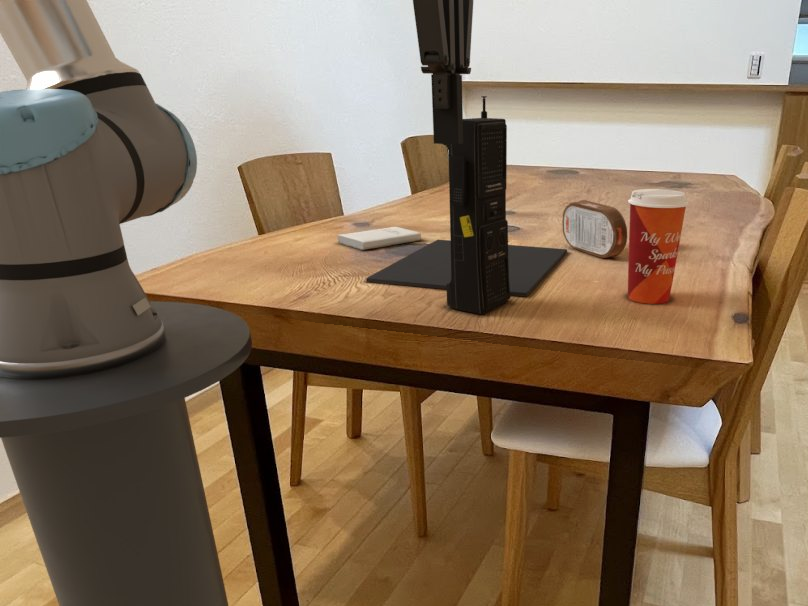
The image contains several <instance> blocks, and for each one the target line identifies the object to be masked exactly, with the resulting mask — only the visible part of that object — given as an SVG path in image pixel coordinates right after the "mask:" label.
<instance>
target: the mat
mask: <svg viewBox="0 0 808 606" xmlns="http://www.w3.org/2000/svg"><path fill="white" fill-rule="evenodd" d="M567 253H568V249H567V248H555V247H541V246H529V245H515V244H508V263H509V286H510V297H511V296H512V297H522V298H527V297H528V296H529V295H530V294H531V293H532V292H533V291H534V290H535V289H536V287H537V286H538V285H539V284H540V283H542V281H543V280H544V278H545V277H546V276H547V275H548V274H549V273H550V272H551V271H552V270H553V269H554V268H555V266H556V265H557V264H558V263H560V261H561V260H562V259H563V258H564V257H565V256H566V255H567ZM365 280H366V283H372V284H373V283H374V284H385V285H395V286H403V287H404V286H405V287H415V288H416V287H417V288H427V289H438V290H446V291H447V285H446V284H448V283H450V281H451V239H450V240H449V239H436V240H434V241H432V242H430V243H429V244H426V245H425V246H423V247H421V248H419V249H417V250H416V251H414V252H412V253H410V254H408V255H407V256H405V257H403V258H401V259H399V260H397V261H395V262H394V263H392V264H389V265H388V266H386V267H384V268H382V269H381V270H379V271H377V272H375V273H373V274H371V275H369V276H368V277H366V278H365Z"/></svg>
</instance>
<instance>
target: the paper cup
mask: <svg viewBox="0 0 808 606" xmlns="http://www.w3.org/2000/svg"><path fill="white" fill-rule="evenodd" d="M630 195H631V196H630V198H629V199H628V201H627V203H629V230H628V231H629V234H628V261H627V263H628V265H627V266H628V268H627V298H628V299H629V300H630V301H633V302H636V303H639V304H640V303H641V304H648V305H658V304H664V303H667V302H668V301H669V300H670V296H671V293H672V286H673V282H674V277H675V270H676V264H677V258H678V253H679V248H680V242H681V236H682V231H683V226H684V219H685V214H686V209H687V207H688V206H689V205H690V204H689V201H688V200H687V196H686V193H685V192H684V191H680V190H673V189H665V188H663V189H662V188H640V189H635V190H632V192H631V194H630Z"/></svg>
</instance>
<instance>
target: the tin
mask: <svg viewBox="0 0 808 606" xmlns="http://www.w3.org/2000/svg"><path fill="white" fill-rule="evenodd" d="M561 222H562V234H563V237H564V238H565V241H566V242H567V244H568V245H569V247H571V248H572V249H574V250H576V251H579V252H582V253H586V254H588V255H591V256H594V257H597V258H601V259H607V258H611V257H612V258H614V257H618V256H620V255H621V254H622V253H623V251H624V250H625V248H626V246H627V242H628V227H627V224H626V220H625V218H624V216H623V215H622V213H621V212H620V211H619V210H618V209H617V208H615V207H614V206H611V205H607V204H603V203H599V202H594V201H591V200H588V199H581V200H578V201H574V202H570V203H568V204H567V205H566V206H565V208H564V209H563V212H562V221H561Z"/></svg>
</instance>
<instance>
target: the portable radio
mask: <svg viewBox="0 0 808 606" xmlns="http://www.w3.org/2000/svg"><path fill="white" fill-rule="evenodd" d="M487 97H488V96H487V95H485V96H483V95H481V98H482V111H480V117H475V118H474V117H473V118H463V143H462V144H442V145H444V146H445V147H446V148H447V153H448V187H449V190H448V192H449V224H450V226H449V228H450V229H449V230H450V231H449V232H450V240H451V281H450V283H448V284H446V285H447V290H446V305H447V306H448V307H449V308H451V309H455V310H458V311H463V312H468V313H473V314H477V315H484V314H486V313H488V312H490V311H492V310H494V309H496V308H498V307H501V306H503V305H504V304H506V303H508V302H509V300H510V299H511V296H510V286H509V263H508V245H509V222H508V220H507V197H506V196H507V177H508V175H507V172H508V171H507V168H508V167H507V165H508V164H507V162H508V161H507V159H508V158H507V156H508V152H507V151H508V149H507V147H508V146H507V145H508V143H507V142H508V126H507V123H506V121H507V120H506V119H505V118H497V117H496V118H495V117H488V111H486V98H487Z"/></svg>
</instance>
